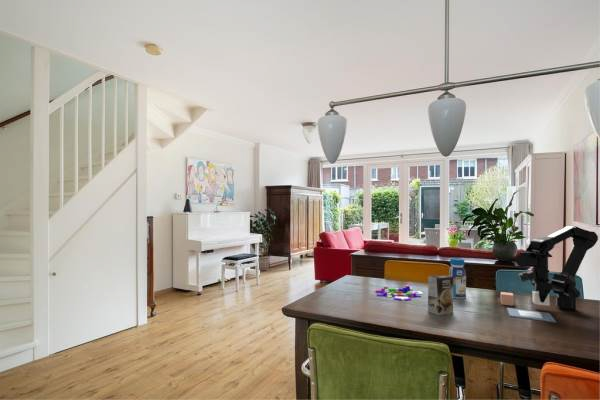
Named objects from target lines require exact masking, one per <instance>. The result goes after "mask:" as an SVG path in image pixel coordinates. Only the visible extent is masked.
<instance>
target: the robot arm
mask: <svg viewBox="0 0 600 400" xmlns="http://www.w3.org/2000/svg"><path fill="white" fill-rule="evenodd" d="M570 238H571V239H572V242H573V247H572V250H571V252H570V254H569V256H568V259H567V260H566V262H565V264H564V265H563V266H564V267H563V269H562V271H561V272H559V273H556V272H555V273H554V274H553V276H552V279H550V278H549V273H550V270H549V258H553V255H552V254H551V253H549V252H550V251H552V250H553V249H554V248H555V246H556V245H557V244H560V243H561V242H563V241H565V240H568V239H570ZM598 240H599V236H598V234H597V233H596V231H590V230H587V229H584V228H582V227H579V226H576V225H575V226H574V225H566V226H564V227H563V228H561V229H559V230H557V231H555V232H553V233H551V234H549V235H547V236H544V237H537V238H536V237H535V238H533V239H531V240H530V243H529V244H528V246H527V248H526V249H525V251H519V254H518V255H517V256H516V259H515V262H516V264H517V266H519V267H520V268H531V270H528V271H523V272H519V273H517V276H518V277H519V280H520V281H521V282H526V281H530V284H531V285H533V287H534V288H535V291H538V292H539V297H540V301H541V302H544V301H545V299H546V297H547V296H548V294H549V295H550V292H551V291H552V292H553V294H556V297H555V306H556V308H558V309H559V310H564V311H573V312H577V311H578V309H577V298H580V296H581V291H579V289H577V288H576V285H577V281H576V274H577V272H578V271H579V268H580V267H581V265H582V262H583V260H584V258H585V256H586V253H588V250H590V249H591V248H593V247H594V246H595V245H596V244H597V242H598ZM550 281H551V282H550Z"/></svg>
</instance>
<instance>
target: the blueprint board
mask: <svg viewBox="0 0 600 400" xmlns="http://www.w3.org/2000/svg"><path fill="white" fill-rule="evenodd" d="M506 310H507V313H508V315H509V317H511V318H519V319H527V320H534V321H540V322H541V321H542V322H549V323H557V321H556V320H555V318H554V317H553V315H552V314H551V313H550V312H545V311H544V312H542V311H536V310H527V309H518V308H512V307H511V308H510V307H506Z"/></svg>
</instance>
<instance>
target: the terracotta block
mask: <svg viewBox="0 0 600 400" xmlns="http://www.w3.org/2000/svg"><path fill="white" fill-rule="evenodd" d="M514 297H515V296H514V293H512V292H505V291H500V304H501V305H503V306H511V307H513V306H514V305H515V303H514V299H515V298H514Z"/></svg>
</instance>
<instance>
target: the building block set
mask: <svg viewBox="0 0 600 400" xmlns="http://www.w3.org/2000/svg"><path fill="white" fill-rule="evenodd" d="M375 293H377V294H376V296H377V297H387V298H393V299H394V301H405V302H406V301H412V298H422V296H423V295H424V293H423V292H422V291H420V290H413V287H410V285H408V284H405V285H404V287H402V288H401V287H400V288H399V287H398V288H397V287H396V288H395V287H388V286H384V287H380V289H375ZM421 295H422V296H421Z"/></svg>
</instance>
